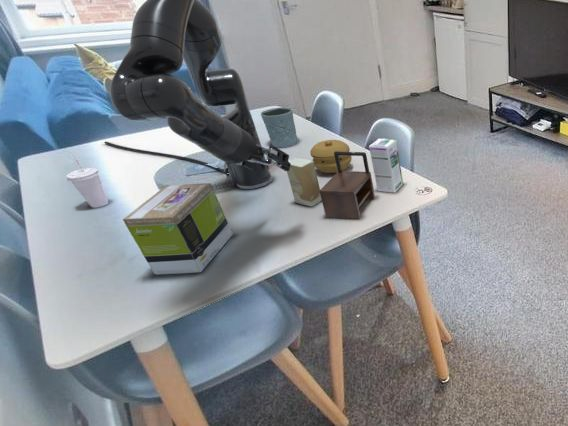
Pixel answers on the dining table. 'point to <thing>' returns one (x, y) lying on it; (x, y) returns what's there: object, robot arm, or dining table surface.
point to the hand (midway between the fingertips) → (271, 166)
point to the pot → (330, 155)
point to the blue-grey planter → (280, 126)
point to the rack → (347, 190)
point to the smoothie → (88, 185)
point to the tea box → (179, 228)
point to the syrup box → (386, 165)
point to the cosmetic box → (304, 182)
